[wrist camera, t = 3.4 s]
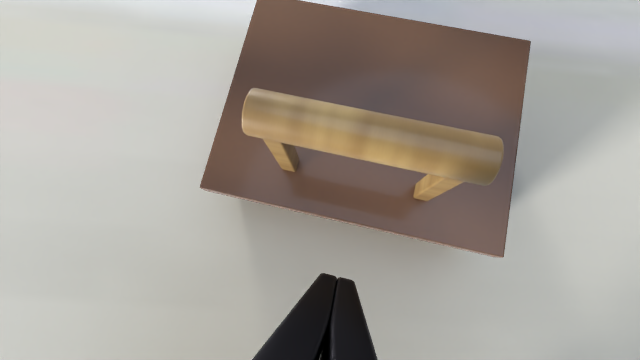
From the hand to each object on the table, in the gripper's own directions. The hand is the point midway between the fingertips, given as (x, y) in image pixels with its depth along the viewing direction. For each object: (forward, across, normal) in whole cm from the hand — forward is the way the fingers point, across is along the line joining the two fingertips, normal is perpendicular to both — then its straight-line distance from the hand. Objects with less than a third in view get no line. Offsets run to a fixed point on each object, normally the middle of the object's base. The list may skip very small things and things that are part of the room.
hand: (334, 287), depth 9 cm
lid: (+10, 0, 0) cm, 10 cm away
